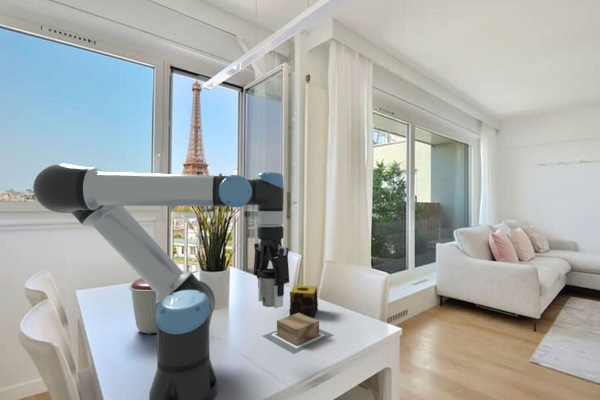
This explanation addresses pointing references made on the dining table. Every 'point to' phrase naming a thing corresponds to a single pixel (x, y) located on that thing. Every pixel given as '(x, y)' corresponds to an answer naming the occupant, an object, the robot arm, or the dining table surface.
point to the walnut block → (297, 328)
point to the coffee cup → (267, 287)
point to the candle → (304, 300)
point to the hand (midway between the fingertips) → (270, 303)
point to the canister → (144, 306)
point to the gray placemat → (293, 347)
